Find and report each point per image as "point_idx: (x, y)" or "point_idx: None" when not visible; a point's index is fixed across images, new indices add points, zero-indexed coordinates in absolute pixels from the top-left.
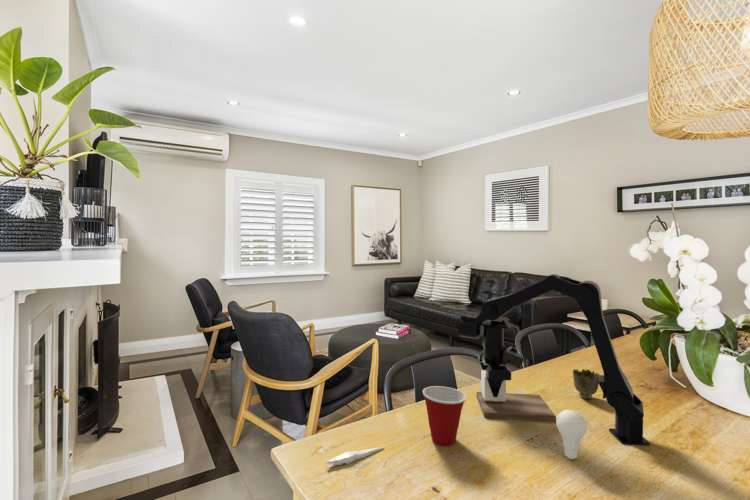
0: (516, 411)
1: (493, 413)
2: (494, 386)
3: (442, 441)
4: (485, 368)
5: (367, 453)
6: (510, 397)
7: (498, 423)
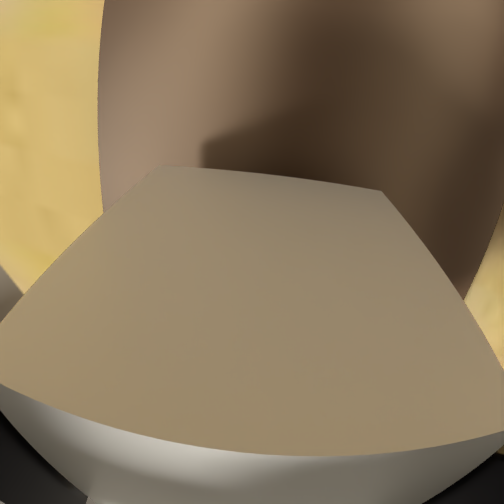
0: (489, 147)
1: None
2: None
3: None
4: (68, 502)
5: None
6: (195, 69)
7: (494, 278)
